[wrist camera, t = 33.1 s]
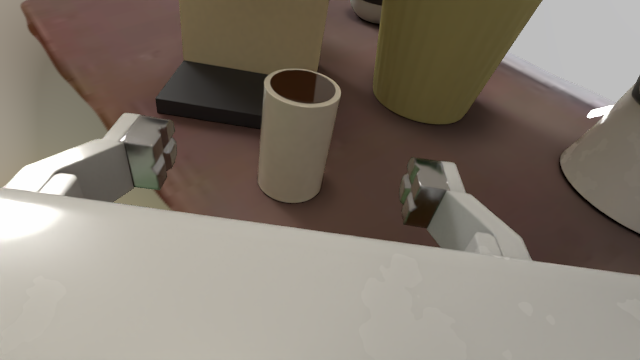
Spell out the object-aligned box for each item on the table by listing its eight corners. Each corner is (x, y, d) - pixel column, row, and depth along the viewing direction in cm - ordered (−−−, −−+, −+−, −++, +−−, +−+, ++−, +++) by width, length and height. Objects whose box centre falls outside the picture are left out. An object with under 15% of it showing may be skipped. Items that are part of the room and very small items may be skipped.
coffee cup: (322, 165, 33) (341, 74, 28) (319, 207, 30) (341, 112, 24) (262, 156, 33) (270, 62, 28) (252, 197, 29) (257, 98, 24)
